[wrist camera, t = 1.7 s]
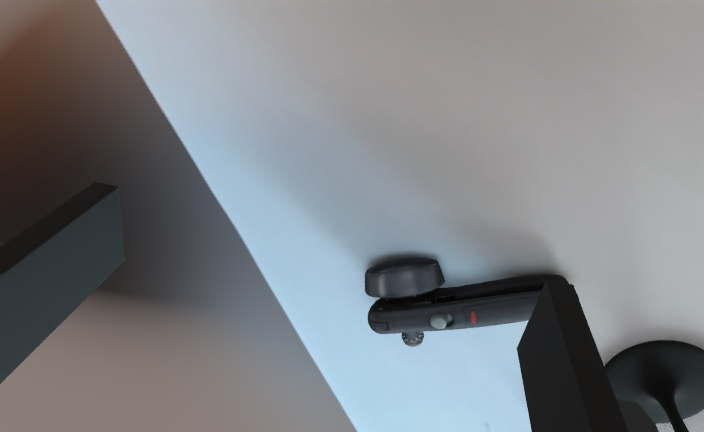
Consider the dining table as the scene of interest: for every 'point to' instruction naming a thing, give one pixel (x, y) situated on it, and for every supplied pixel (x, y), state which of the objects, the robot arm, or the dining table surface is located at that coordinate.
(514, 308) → the can opener
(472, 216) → the dining table surface
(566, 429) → the robot arm
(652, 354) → the wine glass
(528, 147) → the dining table surface
